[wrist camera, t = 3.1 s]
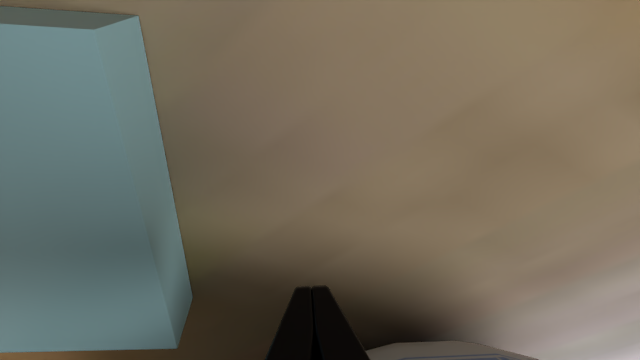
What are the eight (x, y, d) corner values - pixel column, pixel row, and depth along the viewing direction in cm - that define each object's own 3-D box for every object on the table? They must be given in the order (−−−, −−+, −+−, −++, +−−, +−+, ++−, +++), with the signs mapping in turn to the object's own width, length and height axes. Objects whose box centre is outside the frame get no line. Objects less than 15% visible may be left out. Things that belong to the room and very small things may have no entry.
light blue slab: (138, 15, 9) (94, 29, 7) (192, 297, 16) (177, 348, 14) (-279, -14, 8) (-467, -7, 6) (-42, 299, 15) (-97, 354, 13)
